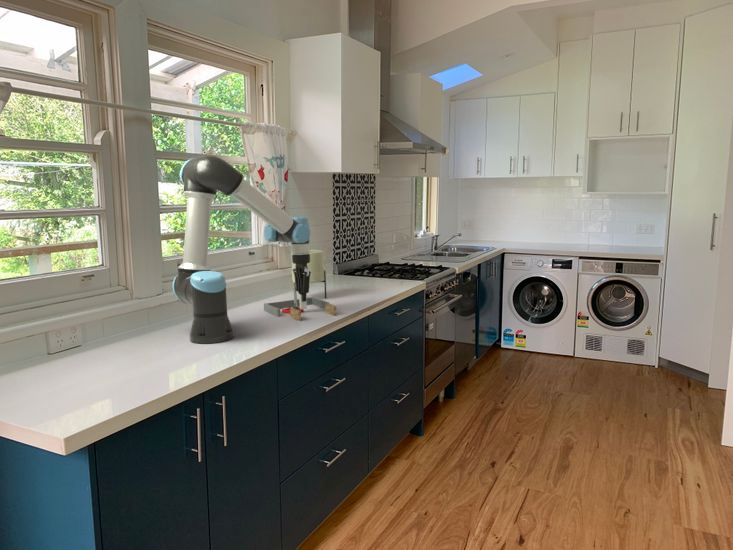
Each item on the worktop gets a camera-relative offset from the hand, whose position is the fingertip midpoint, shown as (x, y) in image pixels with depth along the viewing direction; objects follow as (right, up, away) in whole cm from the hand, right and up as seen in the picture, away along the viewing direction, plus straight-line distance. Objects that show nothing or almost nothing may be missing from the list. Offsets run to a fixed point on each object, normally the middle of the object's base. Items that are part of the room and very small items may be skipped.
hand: (303, 308), depth 241 cm
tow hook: (-5, -2, +3) cm, 6 cm away
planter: (-1, +2, +30) cm, 30 cm away
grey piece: (-4, -1, +6) cm, 7 cm away
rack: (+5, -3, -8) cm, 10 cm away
